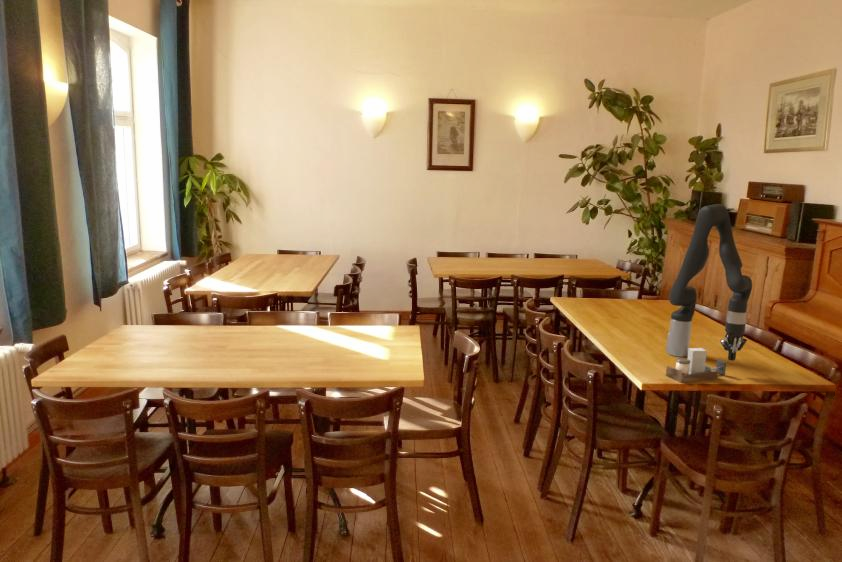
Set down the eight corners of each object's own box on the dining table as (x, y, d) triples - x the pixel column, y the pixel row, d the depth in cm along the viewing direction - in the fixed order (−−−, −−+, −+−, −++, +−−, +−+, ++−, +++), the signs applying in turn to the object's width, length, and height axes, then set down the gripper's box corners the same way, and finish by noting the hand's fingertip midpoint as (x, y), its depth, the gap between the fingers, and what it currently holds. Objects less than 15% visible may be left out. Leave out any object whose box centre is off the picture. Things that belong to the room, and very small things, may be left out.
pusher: (698, 374, 254) (699, 360, 253) (715, 371, 257) (717, 358, 256) (708, 378, 249) (710, 365, 248) (726, 376, 252) (728, 362, 251)
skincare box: (698, 374, 252) (701, 347, 250) (704, 378, 248) (707, 350, 246) (685, 374, 252) (688, 347, 250) (690, 378, 248) (693, 351, 245)
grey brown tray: (665, 377, 250) (666, 366, 249) (700, 373, 257) (702, 362, 256) (680, 384, 242) (682, 373, 241) (716, 379, 248) (718, 368, 248)
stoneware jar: (671, 376, 249) (673, 358, 247) (681, 375, 251) (683, 357, 249) (680, 381, 244) (683, 362, 242) (691, 379, 246) (693, 361, 244)
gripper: (740, 318, 257) (736, 356, 260) (716, 320, 253) (712, 359, 256) (755, 322, 250) (750, 361, 253) (730, 324, 246) (726, 364, 249)
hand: (731, 360), depth 255 cm, fingers closed
